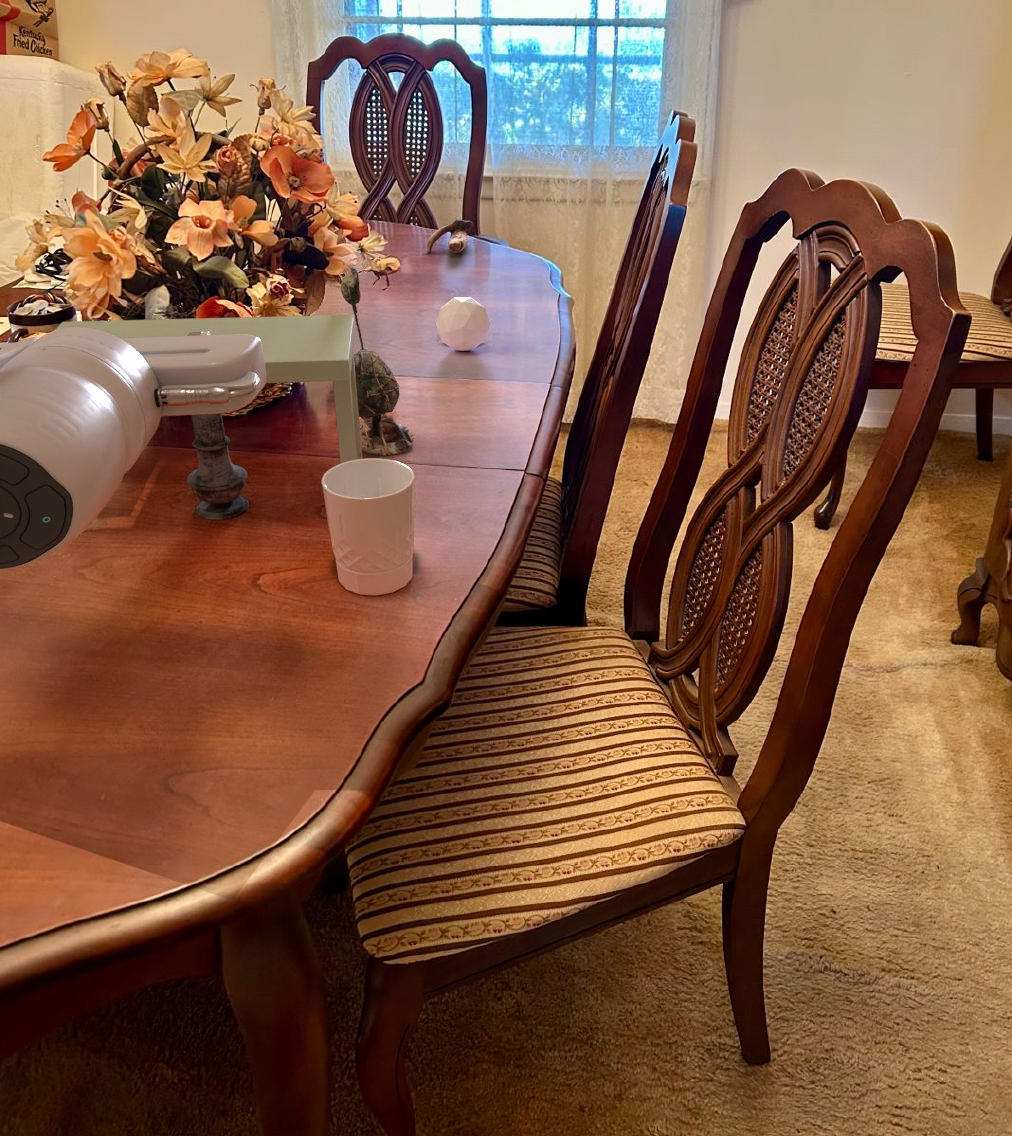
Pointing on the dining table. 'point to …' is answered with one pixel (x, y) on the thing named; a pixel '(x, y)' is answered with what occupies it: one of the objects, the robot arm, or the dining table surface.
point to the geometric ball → (462, 323)
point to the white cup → (371, 523)
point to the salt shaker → (216, 471)
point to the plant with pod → (375, 391)
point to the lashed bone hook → (452, 235)
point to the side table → (278, 354)
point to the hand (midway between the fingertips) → (138, 344)
